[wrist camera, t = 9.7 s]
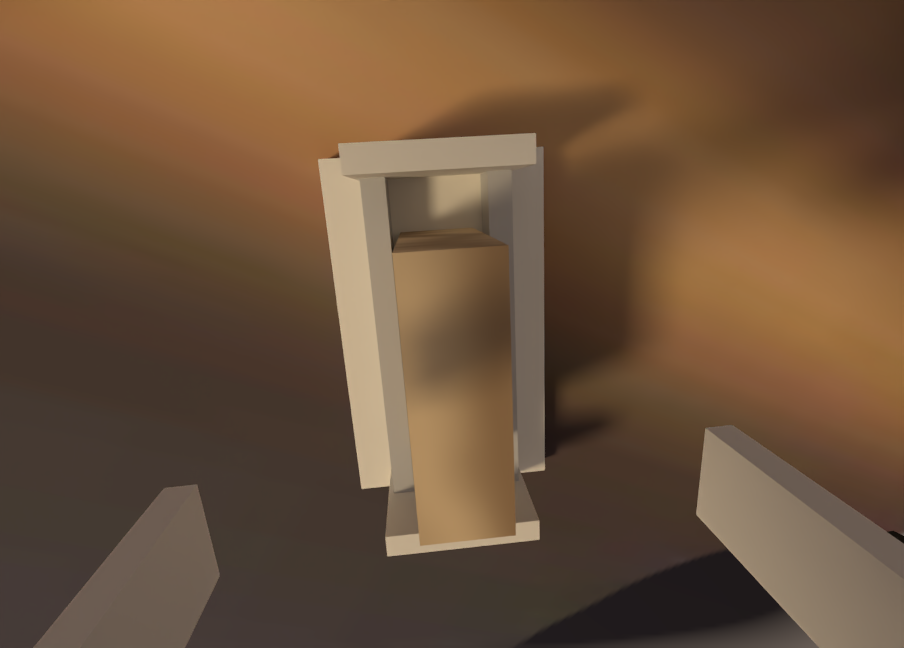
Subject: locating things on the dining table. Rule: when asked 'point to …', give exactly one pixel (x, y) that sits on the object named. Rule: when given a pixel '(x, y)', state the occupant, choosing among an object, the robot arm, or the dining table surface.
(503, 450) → the door panel
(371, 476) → the track
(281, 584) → the dining table surface
